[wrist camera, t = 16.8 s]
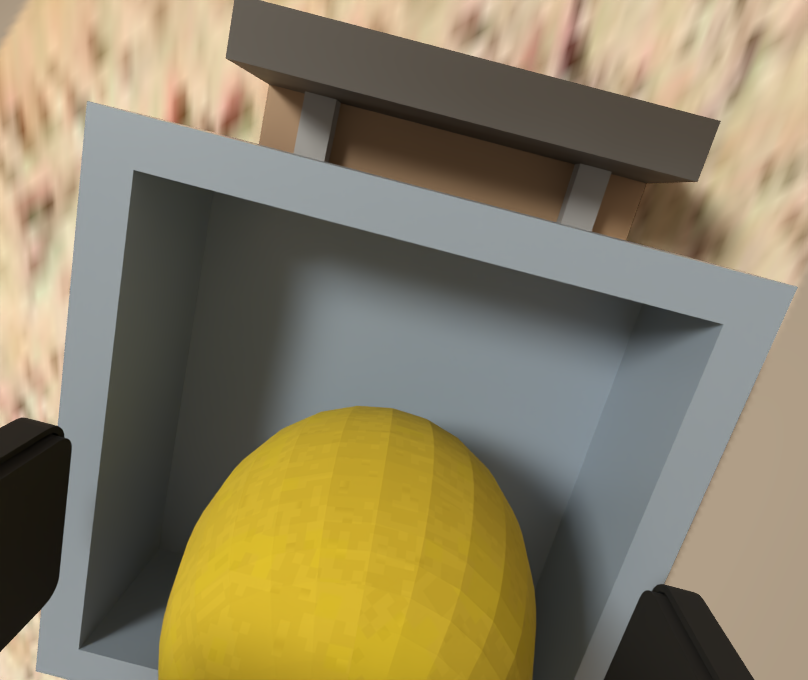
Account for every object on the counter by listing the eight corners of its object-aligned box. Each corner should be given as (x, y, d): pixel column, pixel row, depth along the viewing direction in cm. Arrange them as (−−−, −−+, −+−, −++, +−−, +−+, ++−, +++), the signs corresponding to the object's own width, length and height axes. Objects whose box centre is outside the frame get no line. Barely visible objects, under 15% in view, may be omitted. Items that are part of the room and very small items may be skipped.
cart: (521, 597, 17) (563, 808, 11) (174, 506, 17) (35, 671, 11) (651, 246, 14) (797, 286, 8) (233, 137, 14) (87, 101, 8)
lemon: (216, 413, 13) (-103, 757, 5) (438, 313, 12) (464, 541, 4) (327, 602, 14) (207, 1110, 6) (536, 522, 13) (692, 992, 6)
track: (409, 821, 22) (402, 956, 18) (162, 757, 22) (102, 877, 18) (649, 138, 15) (720, 120, 11) (288, 43, 15) (235, -6, 11)
